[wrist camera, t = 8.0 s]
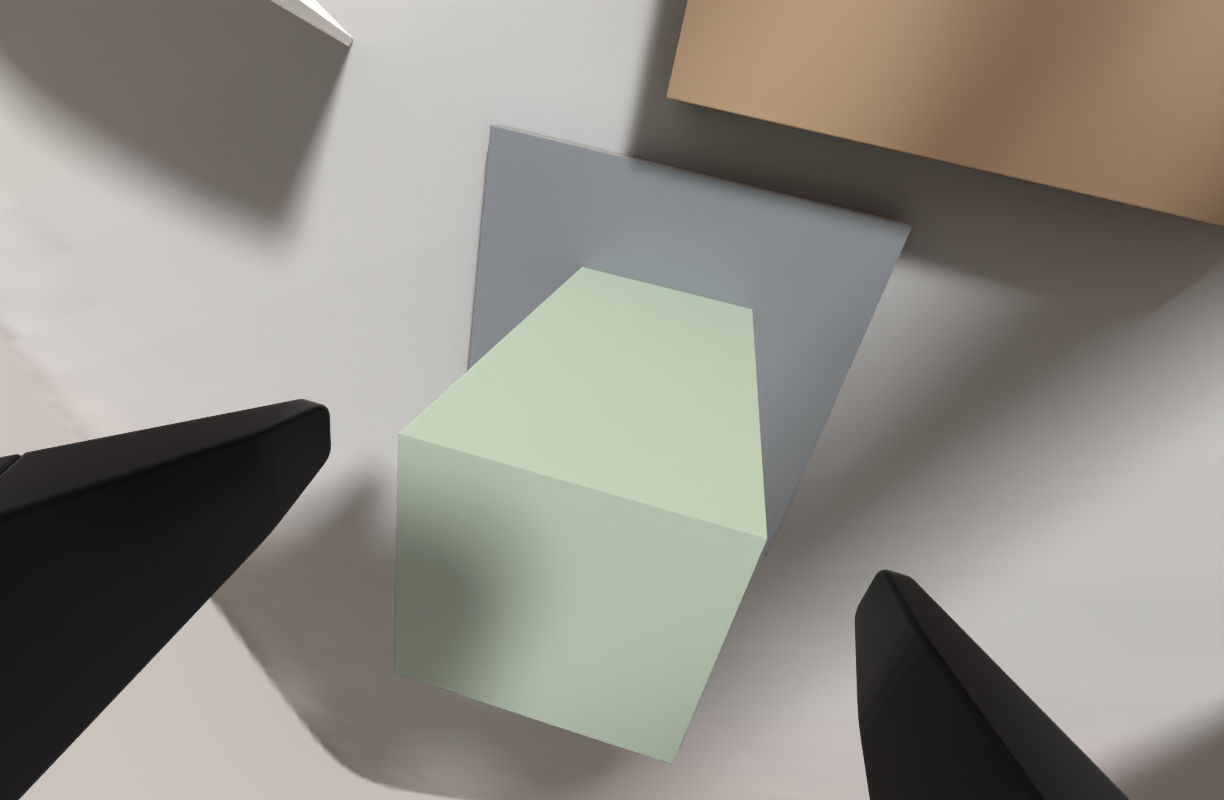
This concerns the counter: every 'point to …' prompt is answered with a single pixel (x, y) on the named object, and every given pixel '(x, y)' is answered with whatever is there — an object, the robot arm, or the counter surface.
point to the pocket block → (985, 86)
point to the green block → (586, 513)
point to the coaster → (691, 269)
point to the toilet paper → (316, 17)
